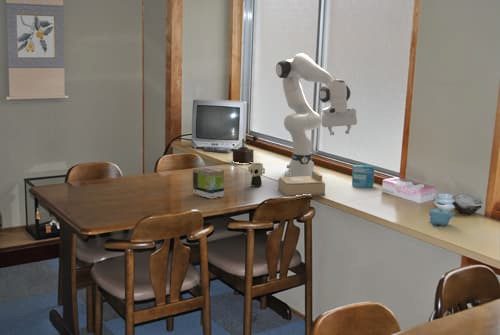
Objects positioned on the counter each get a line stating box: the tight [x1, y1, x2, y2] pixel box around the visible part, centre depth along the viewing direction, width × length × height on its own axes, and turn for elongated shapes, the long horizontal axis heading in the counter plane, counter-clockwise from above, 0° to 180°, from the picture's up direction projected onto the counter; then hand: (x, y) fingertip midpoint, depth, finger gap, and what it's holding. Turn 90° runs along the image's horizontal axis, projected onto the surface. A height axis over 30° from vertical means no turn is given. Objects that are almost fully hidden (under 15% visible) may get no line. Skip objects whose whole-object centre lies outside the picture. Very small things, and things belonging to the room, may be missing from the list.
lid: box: [278, 170, 325, 184], centre depth 352 cm, size 15×21×4 cm
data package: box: [351, 164, 375, 189], centre depth 369 cm, size 12×4×12 cm, turn 78°
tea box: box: [192, 166, 225, 199], centre depth 344 cm, size 15×10×15 cm
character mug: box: [247, 162, 266, 187], centre depth 367 cm, size 11×7×13 cm, turn 58°
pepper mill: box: [232, 135, 259, 163], centre depth 434 cm, size 16×11×18 cm
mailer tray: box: [277, 178, 326, 198], centre depth 353 cm, size 15×22×6 cm
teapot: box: [428, 208, 456, 228], centre depth 295 cm, size 12×6×8 cm, turn 60°
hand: (339, 134), depth 352 cm, fingers open, 8 cm apart
